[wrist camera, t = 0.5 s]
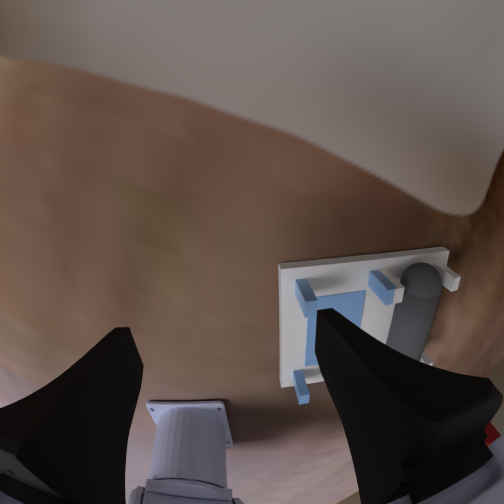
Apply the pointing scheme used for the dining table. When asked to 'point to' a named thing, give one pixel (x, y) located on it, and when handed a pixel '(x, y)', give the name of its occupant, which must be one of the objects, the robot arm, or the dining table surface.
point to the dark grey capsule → (415, 310)
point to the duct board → (343, 303)
